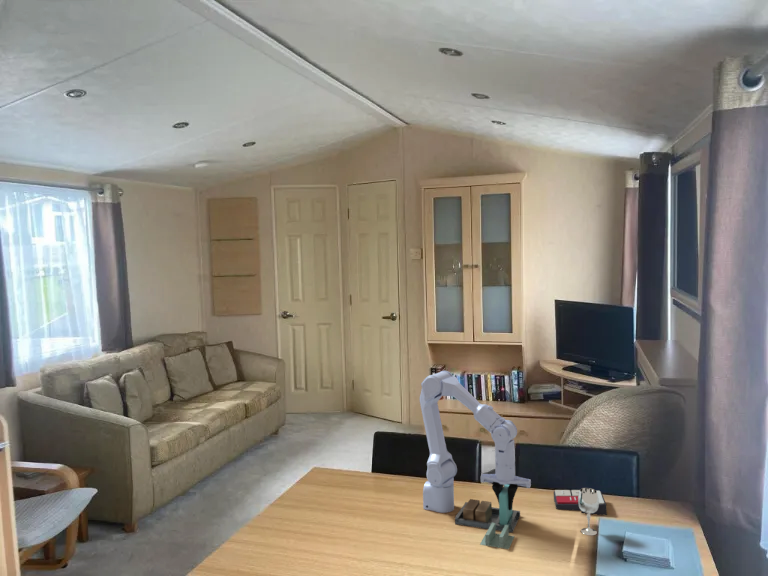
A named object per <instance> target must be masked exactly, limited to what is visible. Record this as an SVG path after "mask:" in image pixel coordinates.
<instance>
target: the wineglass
mask: <svg viewBox="0 0 768 576" xmlns="http://www.w3.org/2000/svg"><path fill="white" fill-rule="evenodd" d="M579 490H580V491H579V496H578V506H579V508H580V509H581V510H582V511H583V512H585V513H588V514H586V519H587V527H583V528H581V529H580V532H581V534H583V535H587V536H595V535H597V534H598V531H597V530H595V529H593V528H591V527H590V526H591V525H590V524H591V522H590V521H591V515H592V514H591V513H594V512H596V511H597V510H598V508H599V499H598V494H597V491H598V490H596V489H594V488H591V487H582V488H580V489H579Z"/></svg>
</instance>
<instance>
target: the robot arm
mask: <svg viewBox="0 0 768 576" xmlns="http://www.w3.org/2000/svg"><path fill="white" fill-rule="evenodd" d="M420 385H421V390H420V391H421V392H420V395H419V405H420V410H421V415H422V420H423V426H424V430H425V436H426V441H427V445H428V449H429V457H428V459H427V462H426V466H427V470H426V478H427V480H426V481H425V483H424V485H423V489H422V502H423V503H422V508H423V510H425V511H432V512H437V513H442V514H444V513H451V512H453V511H454V509H455V494H454V493H455V489H454V487H455V486H454V485H455V484H454V480H455V479H454V477H455V476H456V475H457V473H458V468H457V464H456V463H455V461H454V459H453V455H452V454H451V453H450V452H449V451H448V449H447V444H446V441H445V439H446V438H445V434H444V429H443V425H442V420H441V414H440V409H439V405H438V403H439V401H440V399H442V397H453V398H455V399H456V400H457V401H459V402H460V403H461V404H462V405H463V406H464V407H466V408H467V409H468V410H470V411H471V412H472V414H473V418H474V420H475V421H476V422H478V423H479V424H480V425H481V426H482V427H483V428H484V429H485V430H487V432H488V433H490V436H491V439H492V441H493V442H494V459H495V460H494V461H495V462H494V465H495V472H494V473H481V475H480V483H485V482H486V483H492V486H491V489H492V491H493V492H494V495H495V497H496V498H497V501H498V503H499V494H500V492H501V490H502V489H503V487H504V485H506V484H508V485H509V487H508V498H509V503H508V508H509V510H511V509H512V510H513V503H514V498H515V496H516V493H517V491H518V488H519V487H525V488H527V489H530V488H531V485H532V484H531V483H532V481H531V479H529V478H525V477H521V476H517V475H516V456H515V454H516V451H515V449H516V448H515V438H516V437H517V434H518V428H517V426H516V424H515V423H514V422H513V420H509V419H506V418H505V417H503V416H501V415H499V413H498V412H496V410H494V407H493V406H492V405H488V404H487V403H483V404H482V403H480V402H479V400H478V399H476V398H475V397H474V396H473V395H472V394H471V393H470V392H469V391H468V390H467V389H466V388H465V387H464V386H463V384H461V383H460V382H459V379H458V378H457V377H456V376H455V375H453V373H451V372H450V371H448V370H441V371H439V372H436V373H433V374H430V375H428V376H426V377H425V378H423V380H422V382H421V383H420Z"/></svg>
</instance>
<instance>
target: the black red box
mask: <svg viewBox="0 0 768 576" xmlns="http://www.w3.org/2000/svg"><path fill="white" fill-rule="evenodd" d="M579 491H580V489H571V490H570V489H555V490H554V491H553V502H554V504H555V505H554V506H555V509H556V510H561V511H581V512H580V514H581V513H585V512H583V511H582V510H581V509H580V508H579V506H578V496H579ZM596 491H597V494H598V499H599V508H598V510H597V511H596V512H594V513H591V514H590V515H593V514H597V515H596V516H607V515H608V514H607V513H608V511H607V503H606V500H605V498H604V495H603V492H602V491H600V490H596ZM587 514H588V513H585V515H587Z"/></svg>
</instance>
